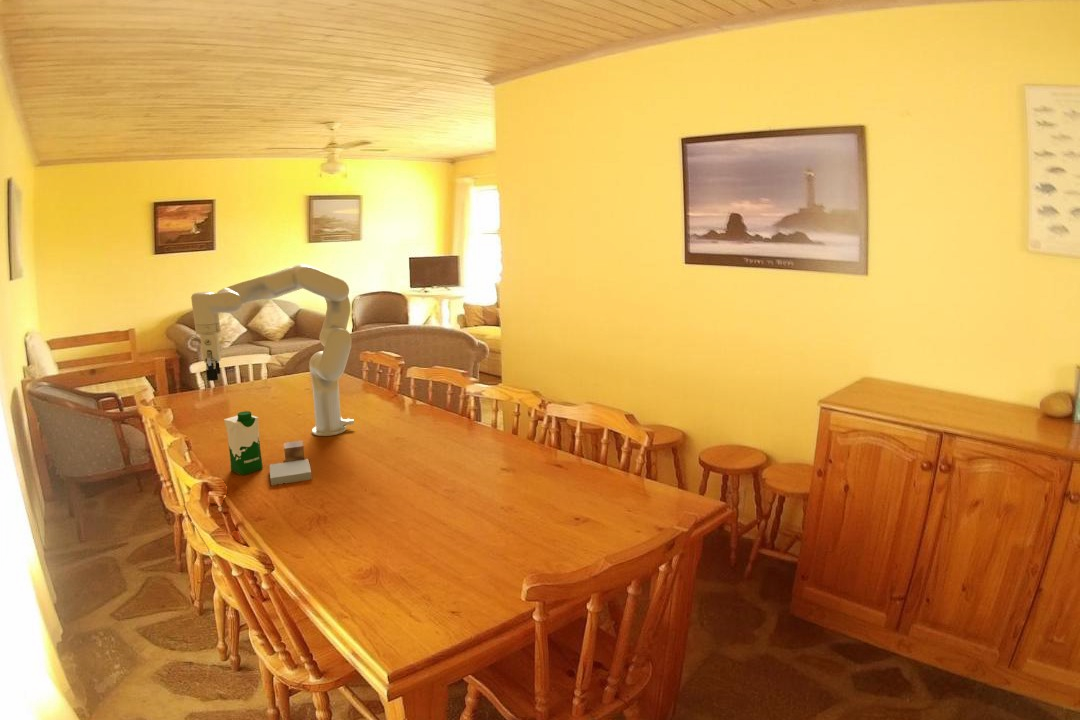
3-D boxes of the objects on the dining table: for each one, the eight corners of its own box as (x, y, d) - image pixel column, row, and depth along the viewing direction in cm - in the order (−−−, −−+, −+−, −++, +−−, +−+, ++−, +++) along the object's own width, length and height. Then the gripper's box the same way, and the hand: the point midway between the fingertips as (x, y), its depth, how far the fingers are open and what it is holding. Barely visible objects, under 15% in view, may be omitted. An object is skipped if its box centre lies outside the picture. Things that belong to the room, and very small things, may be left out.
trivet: (308, 466, 213) (308, 459, 212) (311, 479, 202) (311, 472, 202) (270, 471, 208) (269, 464, 208) (271, 485, 197) (270, 478, 197)
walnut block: (303, 456, 221) (302, 440, 220) (304, 462, 216) (303, 446, 215) (285, 459, 219) (283, 442, 218) (285, 465, 214) (284, 448, 212)
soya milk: (242, 477, 204) (235, 417, 199) (226, 471, 209) (219, 413, 204) (267, 468, 211) (261, 411, 206) (251, 462, 216) (245, 406, 211)
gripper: (217, 332, 210) (224, 381, 214) (222, 323, 225) (227, 370, 229) (192, 333, 207) (199, 384, 211) (198, 325, 223) (204, 372, 227)
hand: (214, 377), depth 220 cm, fingers open, 9 cm apart
